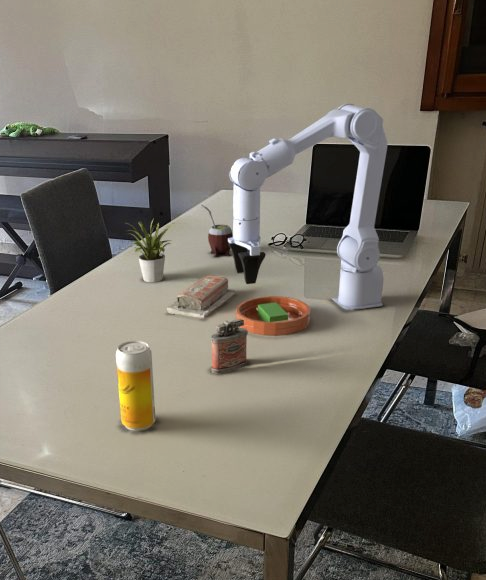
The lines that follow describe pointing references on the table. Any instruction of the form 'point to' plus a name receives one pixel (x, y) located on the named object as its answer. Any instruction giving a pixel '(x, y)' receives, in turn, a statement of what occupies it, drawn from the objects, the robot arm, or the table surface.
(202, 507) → the table surface
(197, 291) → the packaged product
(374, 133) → the robot arm
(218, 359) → the lighter
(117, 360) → the beer can
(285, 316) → the eraser with green sleeve
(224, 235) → the mate gourd
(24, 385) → the table surface
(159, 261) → the house plant
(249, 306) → the bowl
